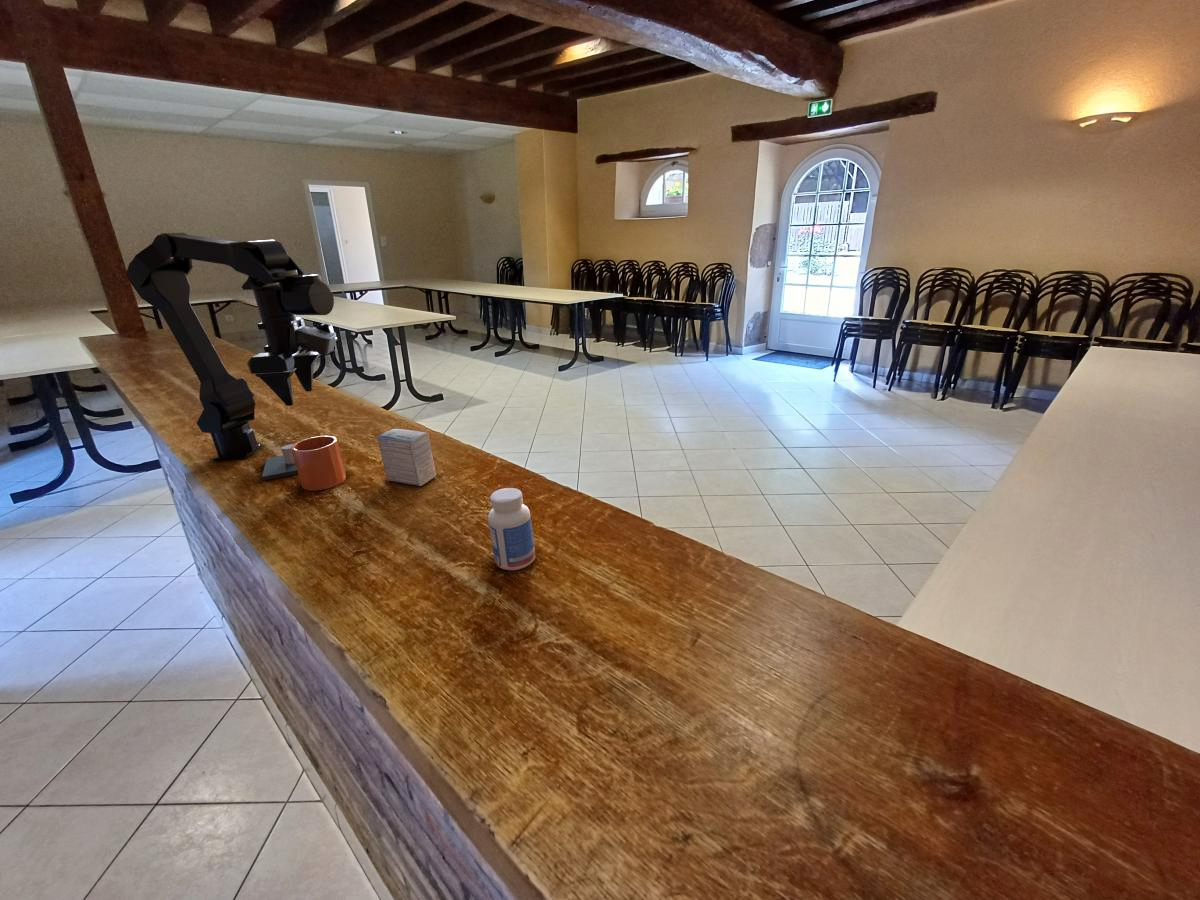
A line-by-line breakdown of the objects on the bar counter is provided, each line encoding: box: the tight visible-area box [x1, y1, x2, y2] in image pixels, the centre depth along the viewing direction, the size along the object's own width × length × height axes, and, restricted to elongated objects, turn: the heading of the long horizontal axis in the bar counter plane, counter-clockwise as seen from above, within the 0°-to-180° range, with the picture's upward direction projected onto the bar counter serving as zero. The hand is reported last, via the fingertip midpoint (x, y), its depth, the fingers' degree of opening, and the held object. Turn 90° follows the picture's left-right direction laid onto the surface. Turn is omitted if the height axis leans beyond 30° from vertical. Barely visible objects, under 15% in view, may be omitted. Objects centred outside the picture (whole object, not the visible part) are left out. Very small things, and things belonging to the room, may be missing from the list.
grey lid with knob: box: [261, 443, 298, 482], centre depth 107 cm, size 10×10×4 cm
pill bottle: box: [487, 487, 536, 571], centre depth 72 cm, size 6×5×10 cm
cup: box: [291, 435, 347, 492], centre depth 98 cm, size 7×7×8 cm
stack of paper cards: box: [377, 428, 437, 487], centre depth 97 cm, size 8×4×9 cm, turn 65°
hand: (299, 398), depth 105 cm, fingers open, 9 cm apart
